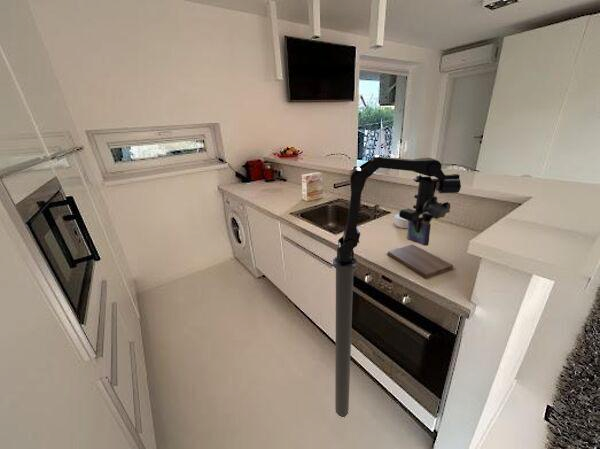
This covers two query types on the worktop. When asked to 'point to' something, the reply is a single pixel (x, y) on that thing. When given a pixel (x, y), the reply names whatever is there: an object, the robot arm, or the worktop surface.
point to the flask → (422, 235)
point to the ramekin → (401, 221)
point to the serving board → (420, 260)
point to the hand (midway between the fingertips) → (420, 231)
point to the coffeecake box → (312, 186)
